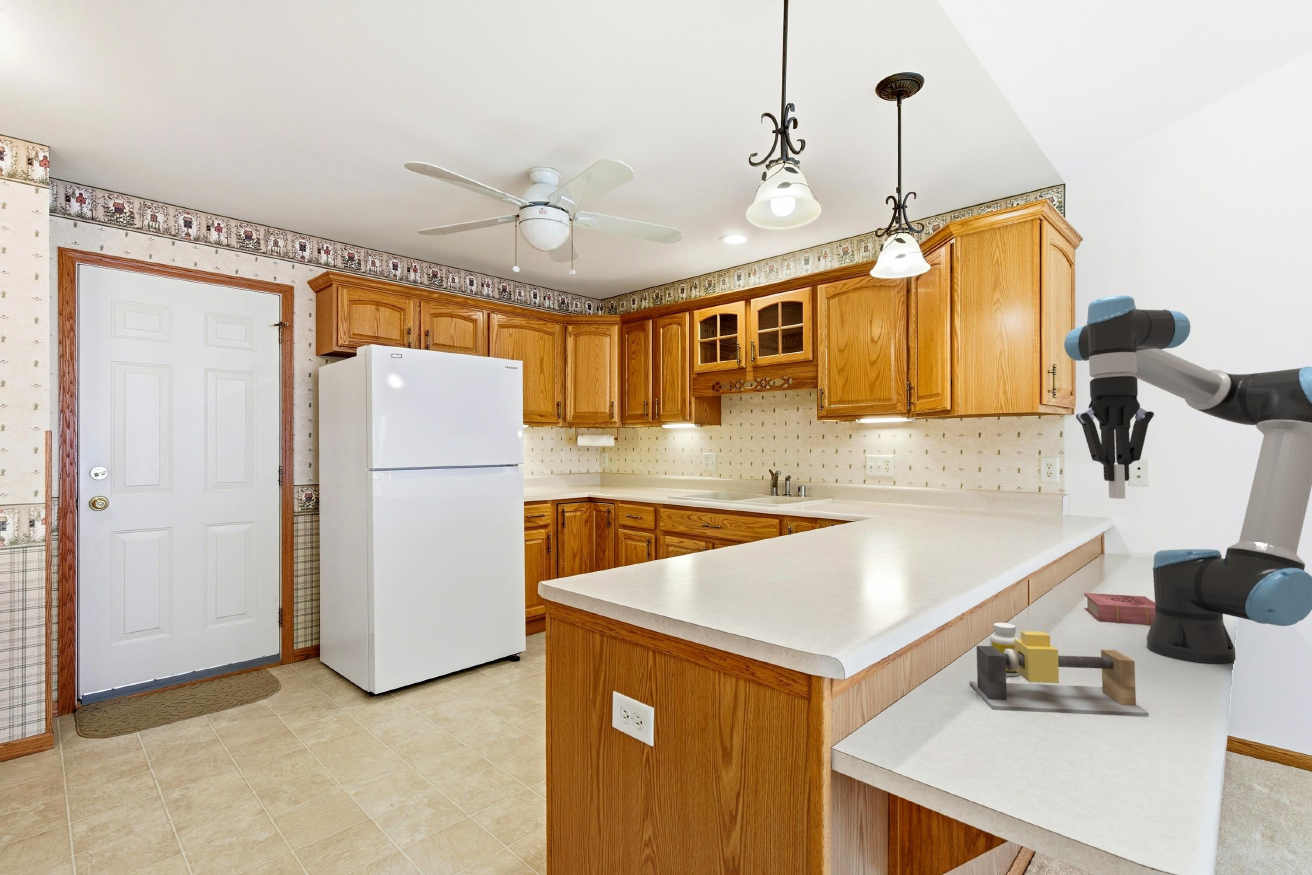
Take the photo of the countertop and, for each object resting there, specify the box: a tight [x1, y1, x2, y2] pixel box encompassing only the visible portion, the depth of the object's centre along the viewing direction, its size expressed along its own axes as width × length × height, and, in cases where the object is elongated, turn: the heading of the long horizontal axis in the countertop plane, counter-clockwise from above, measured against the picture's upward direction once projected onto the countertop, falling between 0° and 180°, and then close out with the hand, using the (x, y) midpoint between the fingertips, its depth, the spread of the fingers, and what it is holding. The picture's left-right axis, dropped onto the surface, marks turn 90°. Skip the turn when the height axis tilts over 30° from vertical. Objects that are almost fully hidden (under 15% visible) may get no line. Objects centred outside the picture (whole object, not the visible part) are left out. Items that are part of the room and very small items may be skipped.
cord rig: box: [969, 645, 1150, 717], centre depth 115 cm, size 25×12×9 cm, turn 81°
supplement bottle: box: [989, 622, 1021, 677], centre depth 130 cm, size 5×5×10 cm
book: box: [1083, 592, 1155, 626], centre depth 171 cm, size 14×15×5 cm
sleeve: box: [1014, 630, 1060, 684], centre depth 116 cm, size 5×6×8 cm
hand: (1117, 497), depth 122 cm, fingers closed
